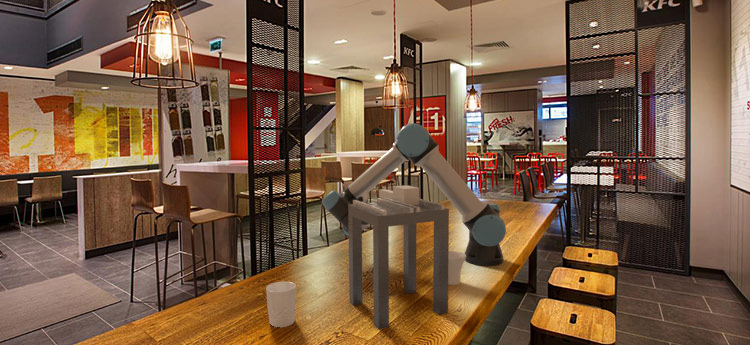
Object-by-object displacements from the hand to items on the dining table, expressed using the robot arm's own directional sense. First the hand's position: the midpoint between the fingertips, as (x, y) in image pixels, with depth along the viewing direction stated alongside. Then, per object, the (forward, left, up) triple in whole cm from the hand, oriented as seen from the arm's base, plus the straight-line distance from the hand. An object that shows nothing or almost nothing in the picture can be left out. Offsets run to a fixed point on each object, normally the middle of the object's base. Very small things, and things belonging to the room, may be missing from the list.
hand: (386, 192), depth 132 cm
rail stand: (-5, +15, -32) cm, 36 cm away
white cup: (+25, +29, -32) cm, 50 cm away
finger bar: (-4, +5, -2) cm, 6 cm away
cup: (-22, -8, -32) cm, 40 cm away
